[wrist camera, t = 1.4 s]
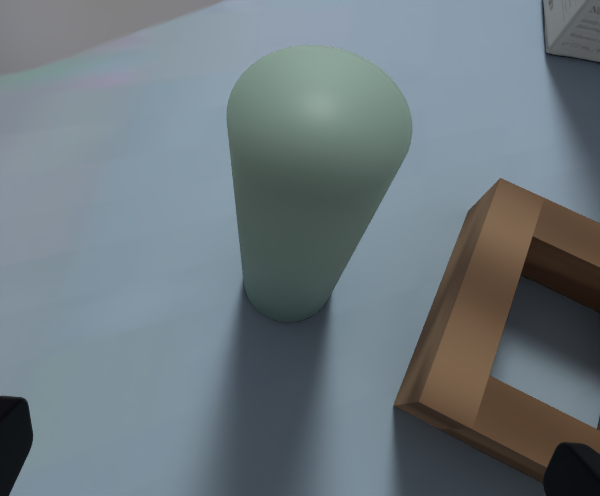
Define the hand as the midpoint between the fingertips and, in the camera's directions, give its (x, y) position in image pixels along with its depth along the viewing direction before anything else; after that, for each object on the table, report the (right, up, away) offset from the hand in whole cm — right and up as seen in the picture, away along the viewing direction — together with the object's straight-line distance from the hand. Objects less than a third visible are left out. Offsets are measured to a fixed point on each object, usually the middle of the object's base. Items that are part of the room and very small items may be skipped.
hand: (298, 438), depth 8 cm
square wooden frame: (+12, -2, +14) cm, 19 cm away
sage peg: (-1, +2, +15) cm, 15 cm away
